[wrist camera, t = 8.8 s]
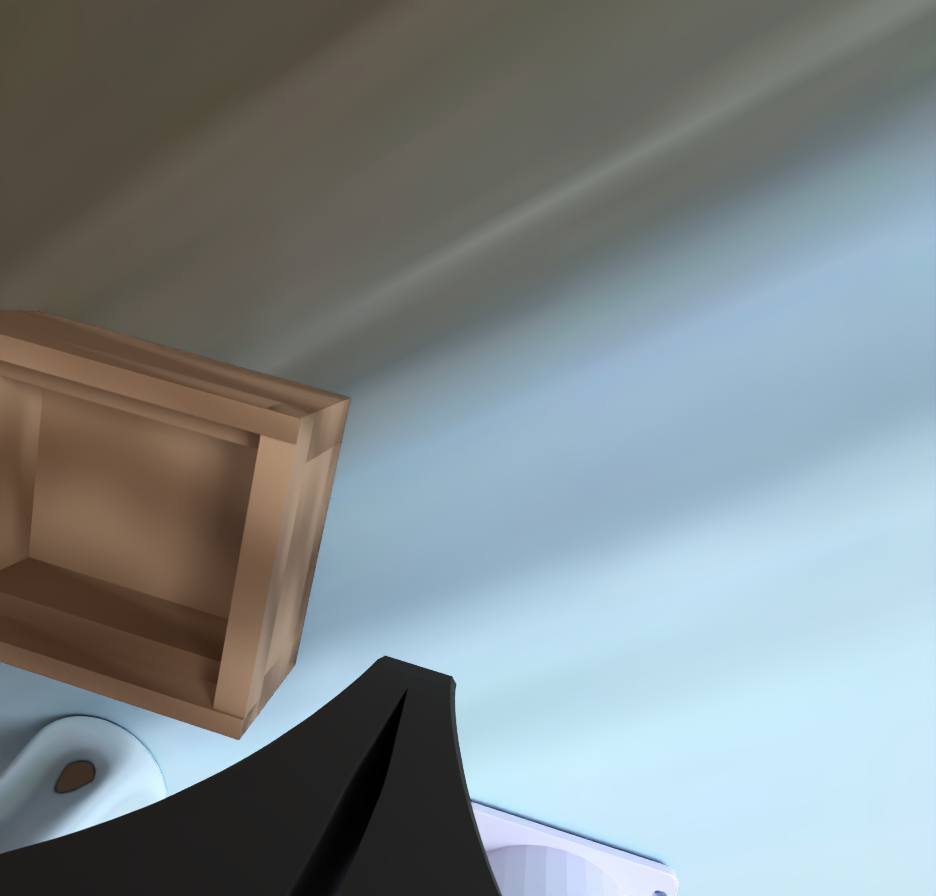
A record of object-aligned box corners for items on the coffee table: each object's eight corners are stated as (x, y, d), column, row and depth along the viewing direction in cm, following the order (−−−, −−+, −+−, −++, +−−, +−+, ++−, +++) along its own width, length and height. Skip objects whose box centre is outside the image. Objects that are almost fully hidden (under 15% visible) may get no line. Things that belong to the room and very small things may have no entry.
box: (295, 664, 22) (238, 740, 19) (18, 577, 23) (-92, 631, 19) (350, 397, 20) (300, 418, 16) (40, 311, 21) (-80, 311, 17)
